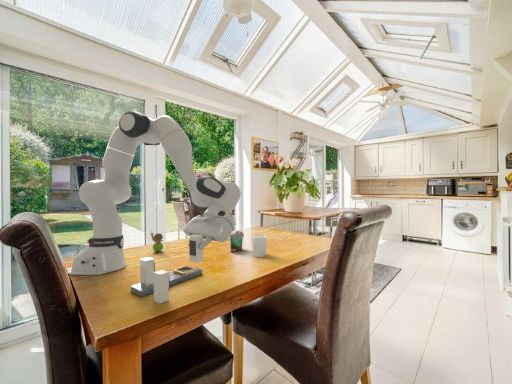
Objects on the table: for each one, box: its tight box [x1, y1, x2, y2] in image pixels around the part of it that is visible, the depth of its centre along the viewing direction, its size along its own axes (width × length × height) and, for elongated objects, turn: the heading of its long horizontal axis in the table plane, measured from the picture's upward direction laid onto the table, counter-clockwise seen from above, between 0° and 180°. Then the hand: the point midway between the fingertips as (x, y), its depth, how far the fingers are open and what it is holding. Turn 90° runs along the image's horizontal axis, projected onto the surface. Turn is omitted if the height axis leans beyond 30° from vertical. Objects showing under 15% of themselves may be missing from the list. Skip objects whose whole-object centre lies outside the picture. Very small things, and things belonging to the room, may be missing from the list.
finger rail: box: [130, 256, 203, 298], centre depth 91 cm, size 26×7×11 cm, turn 145°
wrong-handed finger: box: [153, 269, 171, 305], centre depth 77 cm, size 4×4×9 cm
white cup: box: [251, 234, 268, 258], centre depth 128 cm, size 8×8×10 cm
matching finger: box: [188, 234, 204, 264], centre depth 85 cm, size 4×4×9 cm
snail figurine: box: [150, 230, 164, 253], centre depth 135 cm, size 5×6×12 cm
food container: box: [229, 230, 245, 253], centre depth 138 cm, size 12×6×10 cm, turn 168°
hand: (195, 247), depth 85 cm, fingers closed on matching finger, 3 cm apart
